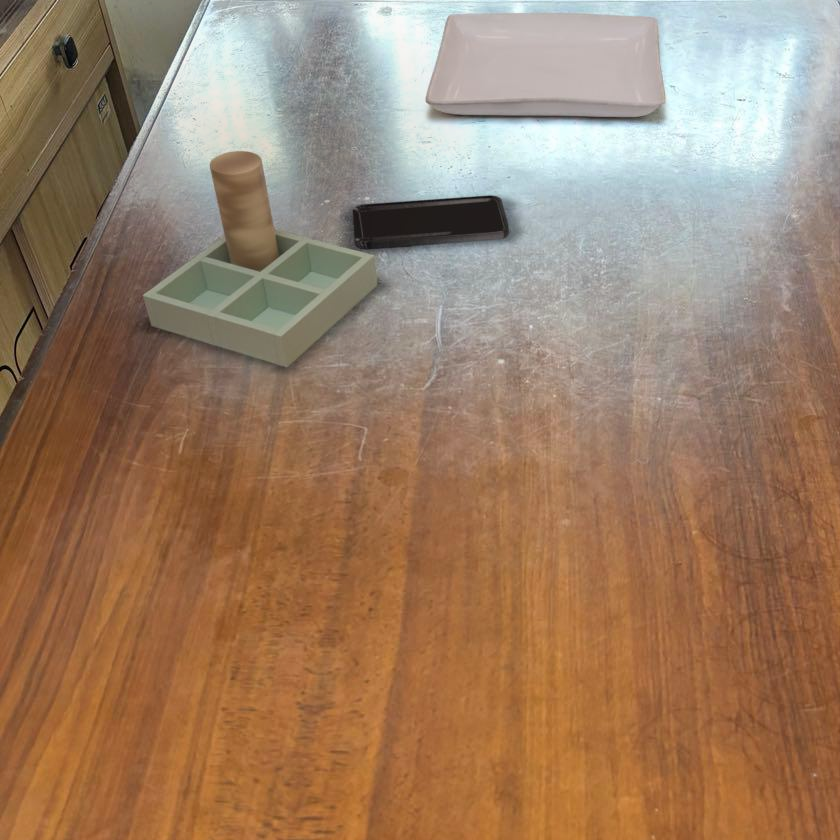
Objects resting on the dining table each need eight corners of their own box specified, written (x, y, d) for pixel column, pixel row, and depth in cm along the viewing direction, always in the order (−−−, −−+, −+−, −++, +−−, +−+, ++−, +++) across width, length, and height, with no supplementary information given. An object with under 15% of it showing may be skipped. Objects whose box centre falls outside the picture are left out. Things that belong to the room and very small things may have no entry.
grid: (152, 330, 97) (142, 295, 95) (250, 255, 106) (243, 220, 104) (288, 372, 93) (281, 336, 90) (378, 290, 102) (374, 255, 99)
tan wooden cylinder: (224, 281, 101) (198, 167, 94) (253, 259, 104) (230, 146, 97) (263, 292, 100) (240, 177, 92) (291, 269, 103) (271, 156, 95)
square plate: (449, 40, 146) (447, 10, 143) (655, 44, 145) (658, 13, 143) (425, 128, 127) (423, 94, 124) (664, 133, 126) (667, 99, 123)
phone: (352, 205, 111) (500, 194, 113) (353, 215, 112) (500, 204, 113) (354, 244, 105) (510, 232, 107) (356, 254, 106) (510, 242, 108)
